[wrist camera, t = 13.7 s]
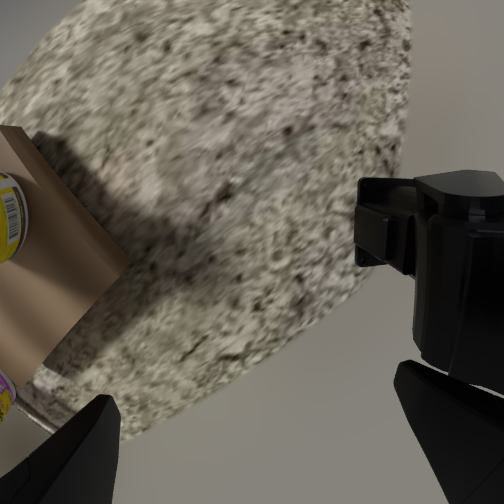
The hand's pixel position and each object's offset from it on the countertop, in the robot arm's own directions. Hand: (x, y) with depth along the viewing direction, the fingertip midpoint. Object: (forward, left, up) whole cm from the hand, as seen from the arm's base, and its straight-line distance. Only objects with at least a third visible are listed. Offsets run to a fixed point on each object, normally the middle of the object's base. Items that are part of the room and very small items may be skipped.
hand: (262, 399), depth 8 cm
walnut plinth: (+17, -1, -13) cm, 21 cm away
